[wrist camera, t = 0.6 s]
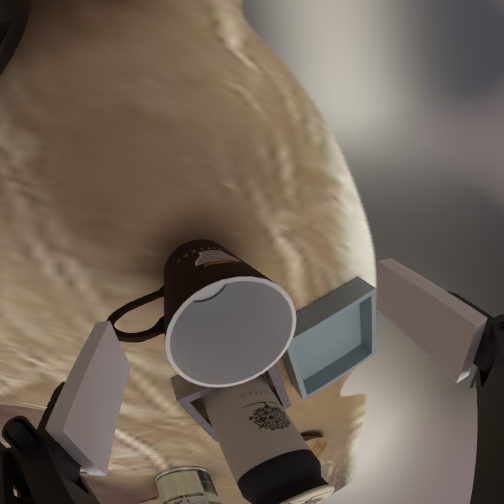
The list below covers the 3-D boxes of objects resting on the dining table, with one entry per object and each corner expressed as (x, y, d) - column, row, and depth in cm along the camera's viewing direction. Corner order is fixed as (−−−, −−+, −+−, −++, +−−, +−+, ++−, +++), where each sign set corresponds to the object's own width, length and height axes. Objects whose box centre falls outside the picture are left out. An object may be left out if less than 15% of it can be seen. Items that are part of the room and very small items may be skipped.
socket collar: (171, 378, 29) (176, 400, 26) (258, 336, 31) (272, 356, 28) (208, 422, 34) (216, 441, 31) (279, 388, 36) (291, 405, 33)
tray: (271, 325, 31) (284, 342, 28) (357, 276, 34) (375, 288, 31) (291, 384, 37) (303, 400, 34) (361, 341, 40) (375, 353, 37)
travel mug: (238, 409, 35) (299, 516, 19) (188, 399, 31) (240, 529, 15) (272, 369, 34) (352, 479, 19) (221, 354, 30) (298, 495, 15)
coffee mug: (259, 247, 27) (318, 298, 19) (219, 322, 28) (257, 392, 20) (143, 197, 22) (146, 233, 13) (108, 288, 23) (100, 364, 14)
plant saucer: (322, 445, 52) (328, 453, 49) (263, 474, 48) (268, 483, 46) (320, 418, 45) (327, 428, 43) (248, 453, 41) (253, 464, 39)
